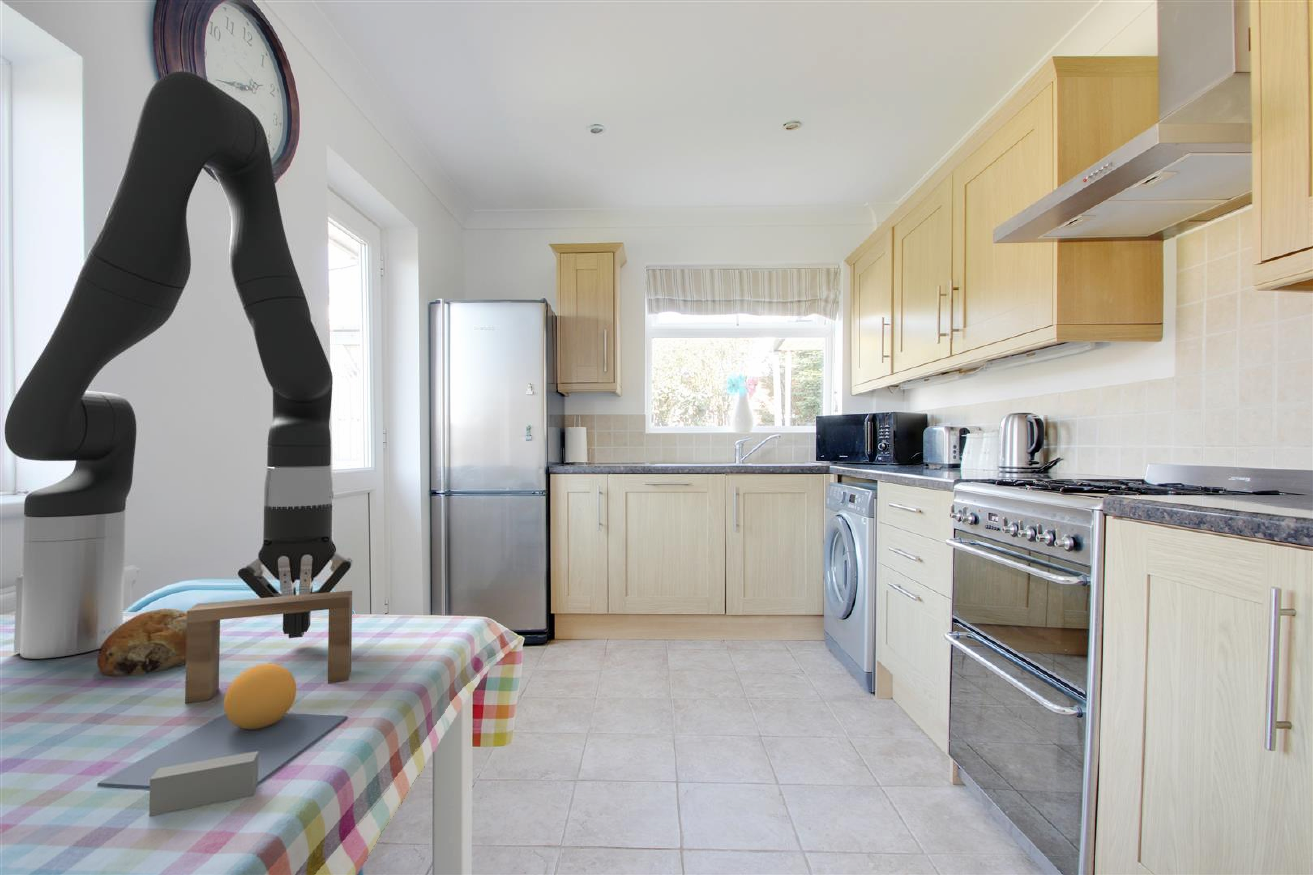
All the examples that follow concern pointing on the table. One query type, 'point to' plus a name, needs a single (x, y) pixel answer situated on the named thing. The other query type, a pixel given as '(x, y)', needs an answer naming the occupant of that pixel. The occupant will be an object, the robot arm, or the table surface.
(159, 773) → the rail
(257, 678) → the ball
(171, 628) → the bread roll
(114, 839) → the table surface
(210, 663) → the bridge
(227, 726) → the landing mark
